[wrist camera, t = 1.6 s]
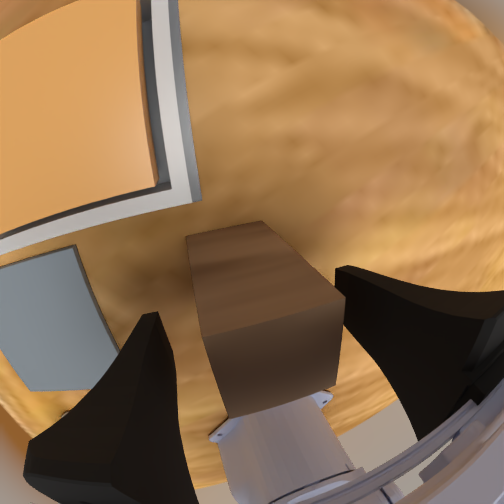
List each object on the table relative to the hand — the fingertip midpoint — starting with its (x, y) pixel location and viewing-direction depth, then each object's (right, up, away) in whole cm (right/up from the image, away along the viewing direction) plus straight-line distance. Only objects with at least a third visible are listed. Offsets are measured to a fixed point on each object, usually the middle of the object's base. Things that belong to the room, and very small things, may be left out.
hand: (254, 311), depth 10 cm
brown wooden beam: (-1, +2, +4) cm, 5 cm away
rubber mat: (-13, -3, +3) cm, 14 cm away
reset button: (-7, +7, -3) cm, 11 cm away
